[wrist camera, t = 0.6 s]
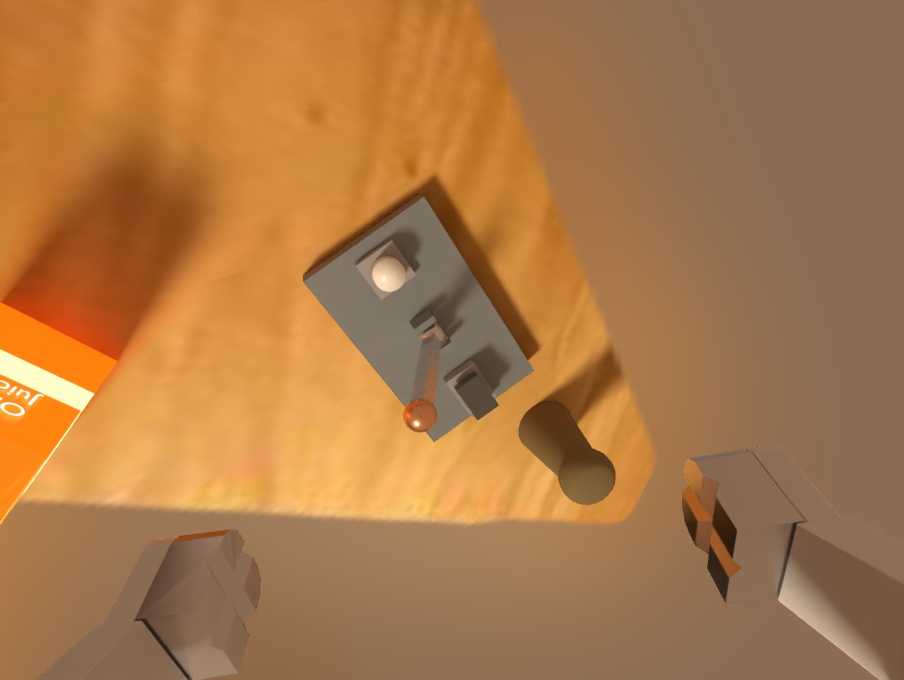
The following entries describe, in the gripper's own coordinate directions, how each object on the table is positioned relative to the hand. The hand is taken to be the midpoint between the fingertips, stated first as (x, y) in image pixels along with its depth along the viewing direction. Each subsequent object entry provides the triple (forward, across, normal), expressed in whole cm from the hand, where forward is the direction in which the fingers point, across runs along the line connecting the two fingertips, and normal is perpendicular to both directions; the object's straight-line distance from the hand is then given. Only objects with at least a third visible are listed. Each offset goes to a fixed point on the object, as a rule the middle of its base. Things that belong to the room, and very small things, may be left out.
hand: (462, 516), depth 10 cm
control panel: (+37, +4, +16) cm, 41 cm away
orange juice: (+30, +34, +11) cm, 47 cm away
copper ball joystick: (+34, +3, +16) cm, 38 cm away
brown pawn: (+38, -7, +32) cm, 50 cm away
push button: (+34, +5, +9) cm, 36 cm away
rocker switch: (+33, 0, +22) cm, 40 cm away
